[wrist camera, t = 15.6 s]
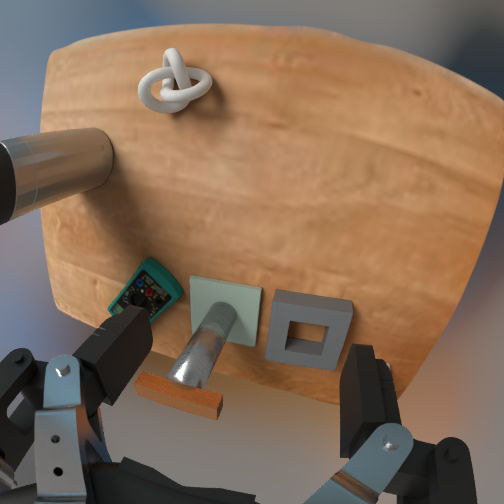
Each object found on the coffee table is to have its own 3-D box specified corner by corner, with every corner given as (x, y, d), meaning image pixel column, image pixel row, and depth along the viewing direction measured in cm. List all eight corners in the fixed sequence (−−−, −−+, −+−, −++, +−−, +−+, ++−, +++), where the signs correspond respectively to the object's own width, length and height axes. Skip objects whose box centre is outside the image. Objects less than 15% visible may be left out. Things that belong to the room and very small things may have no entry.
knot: (181, 130, 33) (157, 131, 28) (145, 91, 32) (118, 87, 27) (224, 88, 30) (206, 80, 25) (184, 49, 29) (161, 37, 24)
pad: (193, 330, 45) (191, 333, 44) (191, 274, 41) (189, 277, 40) (255, 343, 43) (254, 347, 42) (261, 287, 39) (260, 290, 38)
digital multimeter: (188, 287, 42) (180, 297, 40) (142, 331, 48) (134, 341, 46) (153, 252, 41) (143, 260, 39) (113, 302, 47) (104, 311, 45)
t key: (194, 318, 43) (139, 400, 27) (193, 295, 41) (132, 376, 26) (253, 330, 41) (217, 425, 26) (255, 307, 40) (216, 403, 24)
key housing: (268, 346, 43) (264, 359, 40) (276, 289, 39) (272, 300, 36) (334, 356, 41) (334, 370, 38) (351, 300, 37) (353, 313, 34)
